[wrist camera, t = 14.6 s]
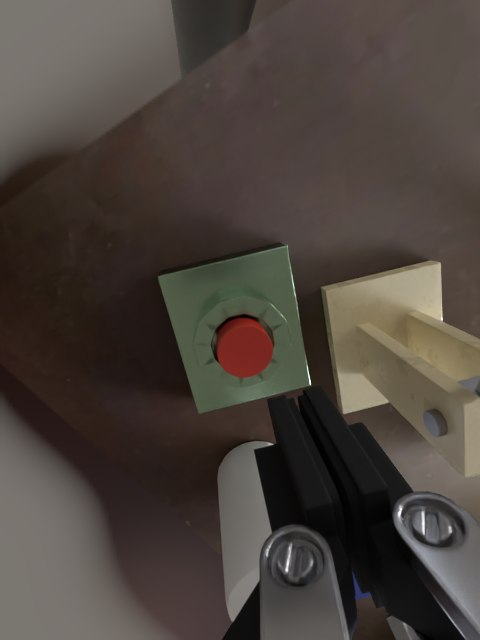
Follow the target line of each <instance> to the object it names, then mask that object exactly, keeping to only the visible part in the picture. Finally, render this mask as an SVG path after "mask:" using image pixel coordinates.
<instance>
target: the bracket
mask: <svg viewBox="0 0 480 640" xmlns="http://www.w3.org/2000/svg"><path fill="white" fill-rule="evenodd" d="M321 294H322V301H323V307H324V314H325V321H326V328H327V335H328V342H329V348H330V355H331V362H332V369H333V376H334V383H335V390H336V396H337V403H338V407H339V409H340V410H341V412H342V413H343V414H346V413H350V412H354V411H358V410H362V409H366V408H370V407H374V406H377V405H381V404H385V403H389V402H390V403H391V404H392V405H393V406H394V407H395V408H396V409H397V410H398V411H399V412H400V413H401V414H402V415H403V416H404V417H405V418H406V419H407V420H408V421H409V422H410V423H411V425H412V426H413V427H414V428H415V429H416V430H417V431H418V432H419V433H420V434H421V435H422V436H423V437H424V438H425V439H426V440H427V441H428V442H429V443H430V444H431V445H432V446H433V447H434V448H435V449H436V450H437V451H438V452H439V453H440V454H441V455H442V456H443V457H444V458H445V459H446V460H447V461H448V462H449V463H450V464H451V465H452V466H453V467H454V468H455V469H456V470H457V471H458V472H459V473H460V474H461V475H462V476H463V477H464V478H467V477H471V476H474V475H478V474H480V397H478V396H477V395H475V394H474V393H472V392H471V391H470V390H468V389H467V388H465V387H464V386H462V385H461V384H459V383H458V381H461V380H465V379H469V378H473V377H477V376H480V339H478V338H476V337H474V336H472V335H470V334H467V333H465V332H463V331H461V330H459V329H457V328H455V327H452V326H450V325H448V324H446V323H444V322H442V296H441V263H440V262H435V261H431V260H430V261H426V262H422V263H418V264H414V265H410V266H406V267H402V268H397V269H393V270H389V271H385V272H381V273H377V274H373V275H369V276H365V277H360V278H356V279H352V280H348V281H344V282H340V283H336V284H332V285H327V286H323V287H321Z"/></svg>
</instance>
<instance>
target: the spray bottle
mask: <svg viewBox="0 0 480 640" xmlns="http://www.w3.org/2000/svg"><path fill="white" fill-rule="evenodd" d="M270 445H273V444H272V443H269V442H264V441H253V442H248V443H243V444H241V445H240V446H238V447H236V448H234V449H232V450H231V451H230V452H229V453H228V454H227V455H226V456H225V457H224V459H223V461H222V463H221V464H220V466H219V469H218V476H217V482H218V496H219V511H220V526H221V541H222V555H223V570H224V585H225V600H226V605H227V609H228V613H229V617H230V619H231V621H232V622H233V621H234V620H235V618H236V617H237V615H238V613H239V612H240V610H241V609H242V607H243V605H244V604H245V602H246V601H247V599H248V597H249V596H250V594H251V593H252V591H253V590H254V588H255V586H256V585H257V583H258V582H259V580H260V576H259V559H260V552H261V549H262V547H263V544H264V542H265V540H266V539H267V538H268V537H269V536H270V535H271V534H272V531H271V527H270V522H269V518H268V513H267V508H266V504H265V499H264V495H263V490H262V486H261V481H260V477H259V472H258V467H257V463H256V458H255V454H254V449H258V448H262V447H266V446H270Z"/></svg>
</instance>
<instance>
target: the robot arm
mask: <svg viewBox="0 0 480 640" xmlns="http://www.w3.org/2000/svg"><path fill="white" fill-rule="evenodd" d="M267 402H268V407H269V411H270V416H271V420H272V425H273V429H274V434H275V439H276V443H277V444H273V445H270V446H266V447H262V448H258V449H254V454H255V458H256V463H257V467H258V472H259V477H260V481H261V486H262V490H263V495H264V499H265V504H266V508H267V513H268V518H269V522H270V527H271V531H272V534H271V535H270V536H269V537H268V538H267V539H266V540H265V542H264V544H263V547H262V549H261V552H260V559H259V576H260V580H259V582H258V583H257V585H256V586H255V588H254V590H253V591H252V593H251V594H250V596H249V597H248V599H247V601H246V602H245V604H244V605H243V607H242V609H241V610H240V612H239V613H238V615H237V617H236V618H235V620H234V621H233V623H232V625H231V626H230V628H229V629H228V631H227V632H226V634H225V636H224V637H223V639H222V640H351V639H352V637H353V634H354V631H355V629H356V626H357V624H358V614H357V608H356V601H355V596H356V593H355V586H354V579H353V574H354V577H355V579H356V582H357V584H358V586H359V589H360V591H361V593H362V594H364V593H368V592H370V594H371V596H372V599H373V601H374V603H375V606H376V608H379V607H383V606H384V607H385V609H386V611H387V613H388V614H390V615H392V616H393V617H395V618H397V619H398V620H400V621H402V622H403V625H404V627H405V629H406V631H407V634H408V636H409V637H410V639H411V640H480V524H479V523H478V522H477V521H476V520H475V519H473V518H472V517H471V516H470V515H469V514H468V513H467V512H466V511H465V510H464V509H463V508H462V507H460V506H459V505H458V504H456V503H455V502H454V501H452V500H451V499H449V498H446V497H444V496H442V495H440V494H436V493H431V492H414V491H413V490H412V489H411V487H410V486H409V485H408V483H407V482H406V481H405V479H404V478H403V477H402V475H401V474H400V472H399V471H398V470H397V468H396V467H395V466H394V464H393V463H392V462H391V460H390V459H389V458H388V456H387V455H386V454H385V452H384V451H383V449H382V448H381V447H380V445H379V444H378V443H377V441H376V440H375V439H374V437H373V436H372V435H371V433H370V432H369V430H368V429H367V428H366V426H365V425H364V424H363V423H361V422H360V423H356V424H352V425H347V423H346V422H345V420H344V419H343V417H342V416H341V414H340V413H339V411H338V410H337V408H336V407H335V405H334V404H333V402H332V401H331V399H330V398H329V396H328V395H327V393H326V392H325V390H324V389H323V387H322V386H318V387H314V388H310V389H306V390H303V395H302V396H298V403H299V408H300V412H299V409H298V407H297V405H296V403H295V401H294V399H293V398H290V399H287V398H286V396H285V395H282V396H278V397H274V398H270V399H267ZM352 572H353V573H352Z"/></svg>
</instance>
